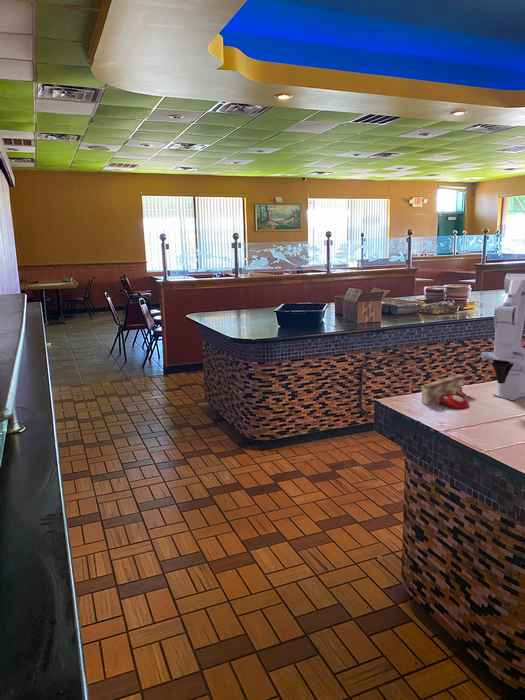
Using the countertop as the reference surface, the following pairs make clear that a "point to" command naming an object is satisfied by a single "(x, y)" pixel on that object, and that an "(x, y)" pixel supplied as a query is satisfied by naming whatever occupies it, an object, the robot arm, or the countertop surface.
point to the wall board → (441, 388)
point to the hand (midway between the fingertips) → (501, 382)
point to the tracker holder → (454, 400)
